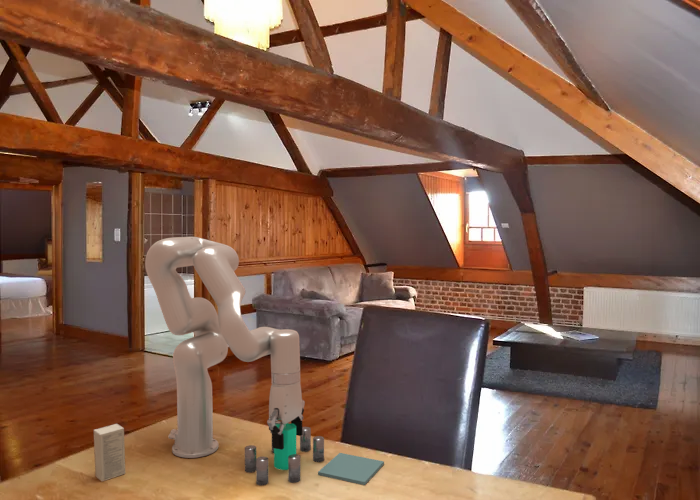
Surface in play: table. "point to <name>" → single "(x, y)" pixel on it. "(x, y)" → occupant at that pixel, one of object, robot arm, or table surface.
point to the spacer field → (293, 460)
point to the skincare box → (109, 452)
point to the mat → (351, 468)
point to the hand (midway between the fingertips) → (287, 441)
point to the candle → (285, 447)
